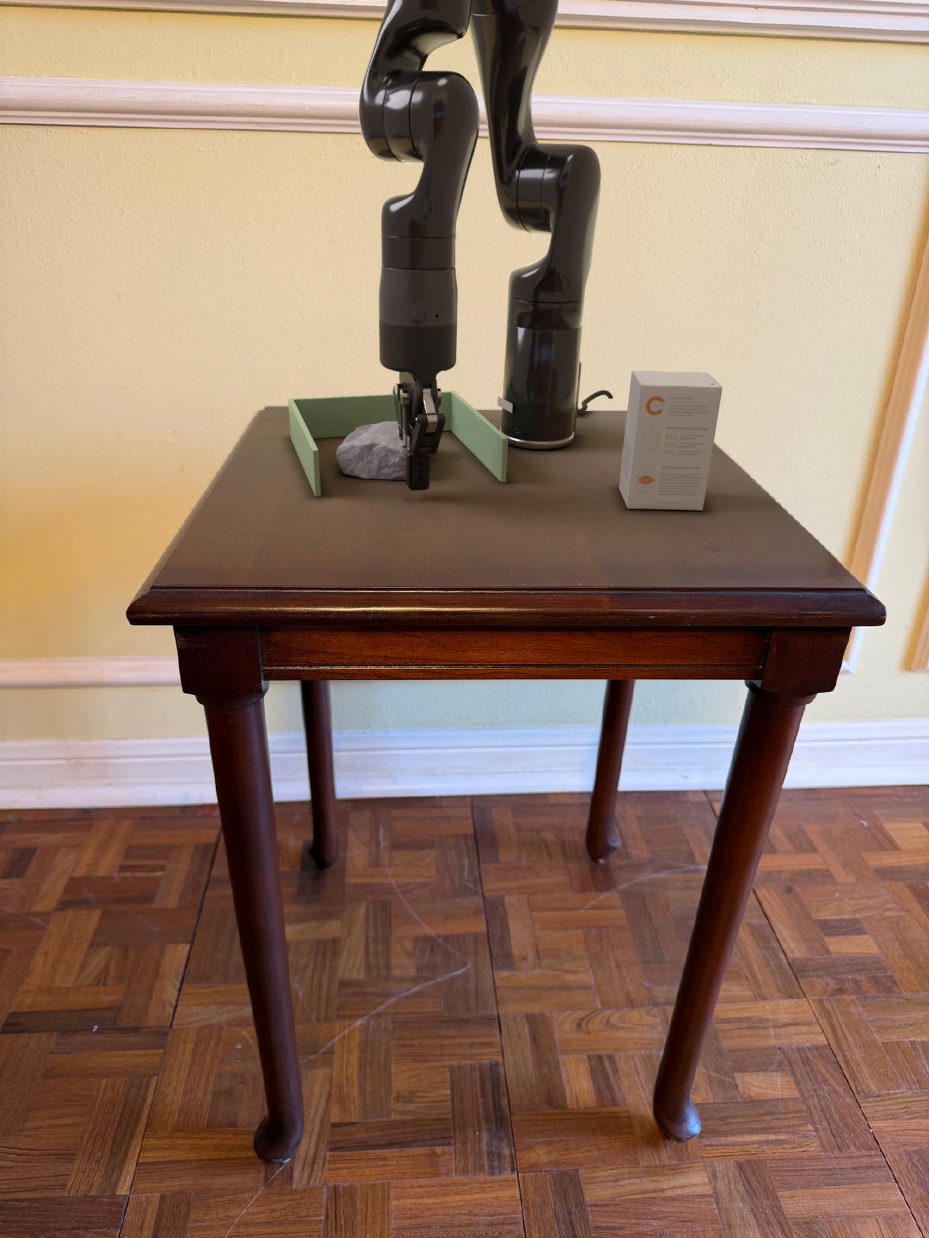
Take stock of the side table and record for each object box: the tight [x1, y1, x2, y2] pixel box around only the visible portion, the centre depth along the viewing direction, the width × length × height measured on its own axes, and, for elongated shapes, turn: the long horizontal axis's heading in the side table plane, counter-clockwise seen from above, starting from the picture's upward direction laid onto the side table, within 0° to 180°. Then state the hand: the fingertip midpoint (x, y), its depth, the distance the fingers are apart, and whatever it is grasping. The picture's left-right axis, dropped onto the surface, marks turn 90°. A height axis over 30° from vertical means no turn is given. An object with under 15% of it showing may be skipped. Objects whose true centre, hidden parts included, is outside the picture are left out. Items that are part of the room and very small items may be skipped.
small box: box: [618, 370, 723, 511], centre depth 91 cm, size 8×6×13 cm
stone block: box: [335, 421, 406, 481], centre depth 102 cm, size 12×5×10 cm
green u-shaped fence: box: [287, 390, 509, 497], centre depth 103 cm, size 21×21×5 cm
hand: (417, 487), depth 92 cm, fingers closed
